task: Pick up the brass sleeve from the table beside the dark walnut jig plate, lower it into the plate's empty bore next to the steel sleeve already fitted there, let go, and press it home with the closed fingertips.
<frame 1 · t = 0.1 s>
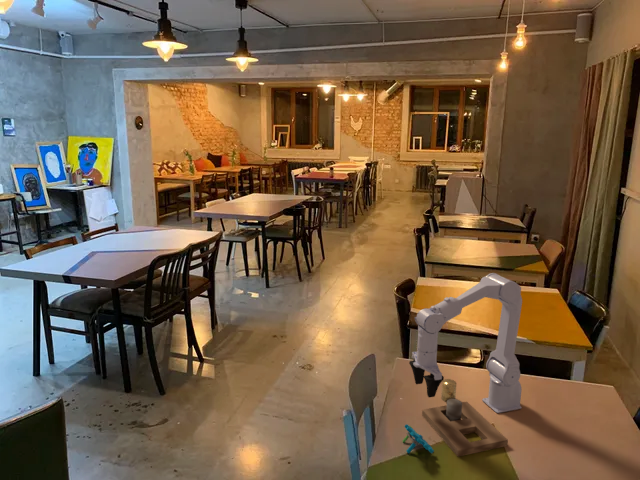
hand: (424, 389, 143), 10 cm above the table, tool pointing down, fingers open, 7 cm apart
brass sleeve: (448, 398, 156), on the table
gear: (417, 450, 131), on the table
walnut jig: (462, 429, 140), on the table
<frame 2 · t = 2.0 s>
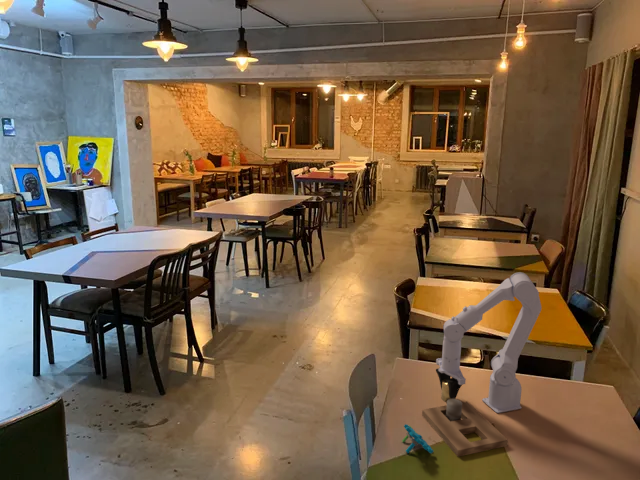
hand: (448, 393, 156), 2 cm above the table, tool pointing down, fingers closed on brass sleeve, 4 cm apart
brass sleeve: (448, 398, 156), on the table, touching gripper
everything else where it was.
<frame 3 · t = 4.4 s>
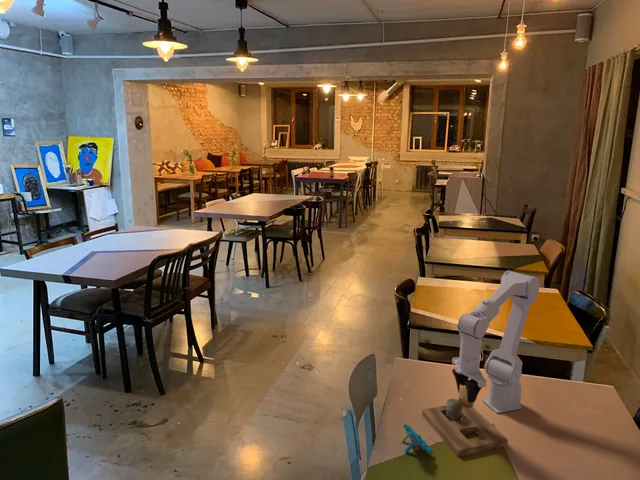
hand: (466, 396, 139), 10 cm above the table, tool pointing down, fingers closed on brass sleeve, 4 cm apart
brass sleeve: (466, 403, 140), point 8 cm above the table, touching gripper
everything else where it was.
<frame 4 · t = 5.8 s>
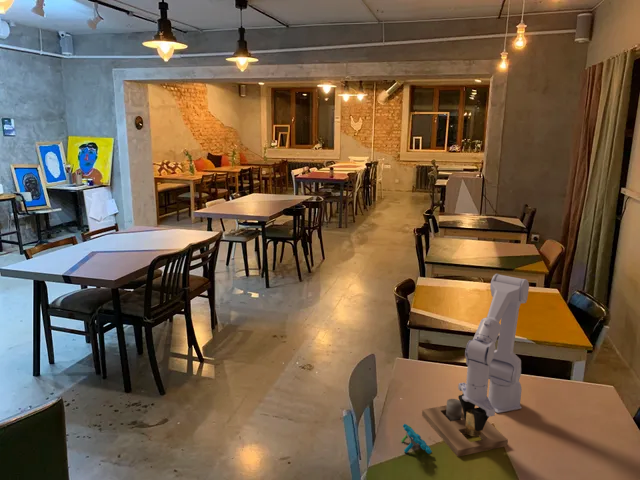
hand: (473, 424, 134), 5 cm above the table, tool pointing down, fingers closed on brass sleeve, 4 cm apart
brass sleeve: (473, 431, 135), point 3 cm above the table, touching gripper
everything else where it was.
when the fingers open (3 cm above the table, at t = 7.1 s): brass sleeve stays where it is, resting in walnut jig.
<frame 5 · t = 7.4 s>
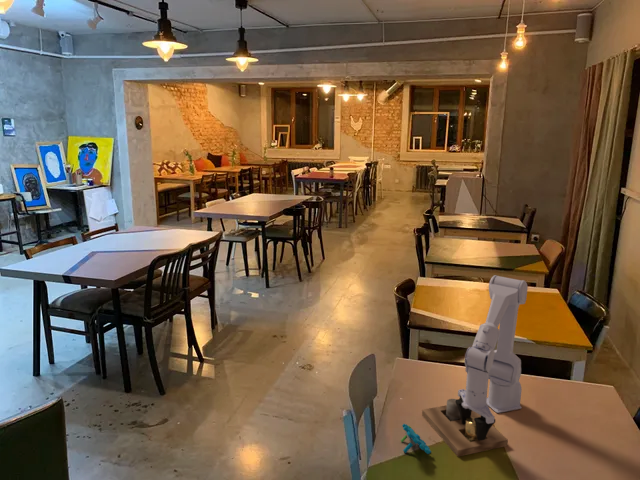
hand: (473, 431, 135), 3 cm above the table, tool pointing down, fingers open, 7 cm apart
brass sleeve: (472, 440, 135), resting in walnut jig
everything else where it was.
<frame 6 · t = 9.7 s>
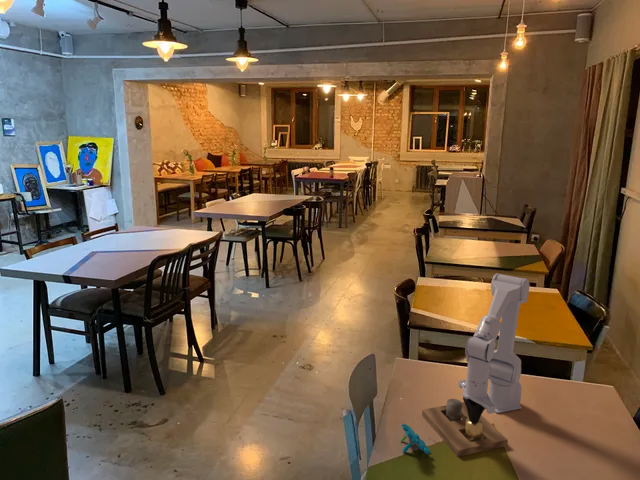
hand: (473, 421, 134), 6 cm above the table, tool pointing down, fingers closed, pressing on brass sleeve
brass sleeve: (472, 440, 135), resting in walnut jig, touching gripper
everything else where it was.
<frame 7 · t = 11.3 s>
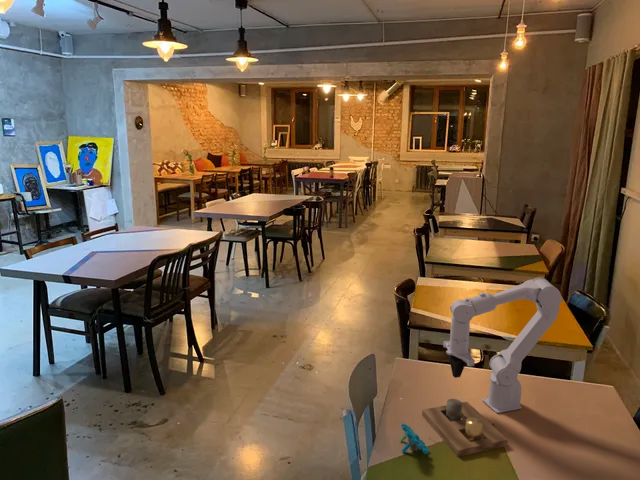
hand: (456, 376, 152), 9 cm above the table, tool pointing down, fingers closed
brass sleeve: (472, 440, 135), resting in walnut jig
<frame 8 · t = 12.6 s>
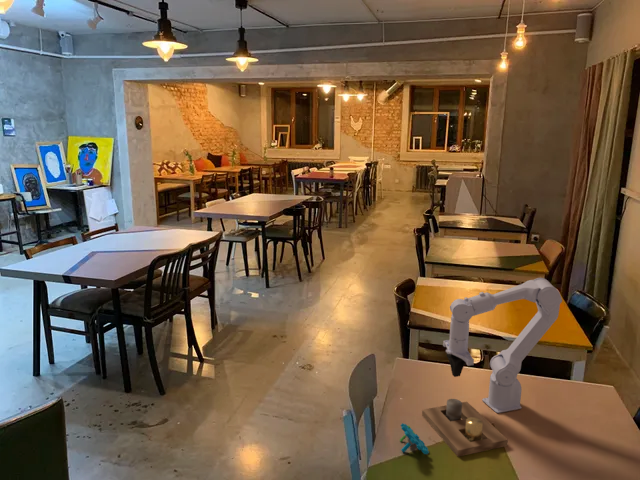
hand: (456, 375, 152), 9 cm above the table, tool pointing down, fingers closed
at the end: brass sleeve 0.1 cm from the target spot on the walnut jig, point 0.0 cm above the walnut jig's base; brass sleeve tilted 0°; the gripper is holding nothing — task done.
